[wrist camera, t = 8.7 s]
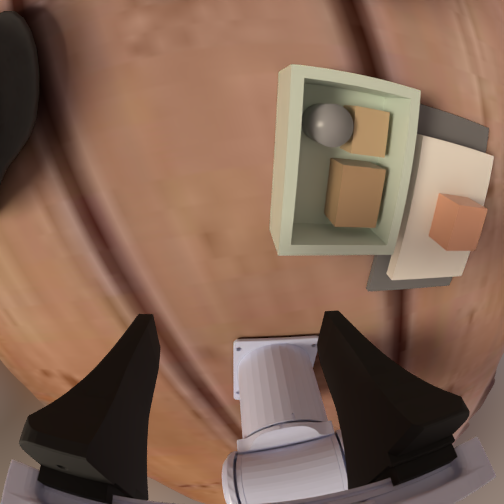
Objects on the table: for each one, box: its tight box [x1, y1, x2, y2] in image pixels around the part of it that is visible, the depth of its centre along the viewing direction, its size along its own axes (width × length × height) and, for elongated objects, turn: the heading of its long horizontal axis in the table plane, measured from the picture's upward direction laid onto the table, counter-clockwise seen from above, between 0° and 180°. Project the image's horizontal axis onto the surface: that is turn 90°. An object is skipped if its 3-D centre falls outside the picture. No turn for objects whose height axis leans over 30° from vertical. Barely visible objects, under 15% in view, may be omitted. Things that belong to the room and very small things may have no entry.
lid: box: [386, 134, 494, 280], centre depth 19 cm, size 11×8×4 cm
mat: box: [366, 104, 489, 291], centre depth 21 cm, size 16×10×1 cm, turn 178°
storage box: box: [269, 64, 421, 256], centre depth 18 cm, size 11×8×4 cm
